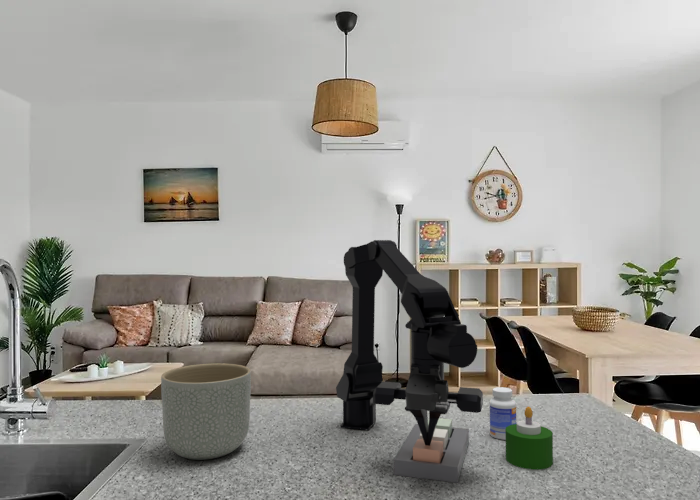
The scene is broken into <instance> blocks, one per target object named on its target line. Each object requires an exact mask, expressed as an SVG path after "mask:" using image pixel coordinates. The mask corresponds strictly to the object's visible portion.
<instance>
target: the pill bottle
mask: <svg viewBox="0 0 700 500" xmlns="http://www.w3.org/2000/svg"><path fill="white" fill-rule="evenodd" d="M512 397H513V390H512V389H511V387H502V386H498V387H497V386H496V387H494V388H492V397H491V398H490V400H489V434H490V436H491V437H492V438H495V439H497V440H502V441H503V440H505V441H506V433H505V429H506V427H507V426H509V425H513V424H517V402H516V400H514V399H512Z"/></svg>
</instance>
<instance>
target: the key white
mask: <svg viewBox="0 0 700 500" xmlns="http://www.w3.org/2000/svg"><path fill="white" fill-rule="evenodd" d="M420 439H423V437H422V434H420ZM432 440H433V441H443V449H444V450H445V449H446V446H447V443H448V430H446V429H435V432H434V435H433V438H432Z"/></svg>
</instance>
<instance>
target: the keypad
mask: <svg viewBox="0 0 700 500" xmlns="http://www.w3.org/2000/svg"><path fill="white" fill-rule="evenodd" d="M420 434H421V431H420V428H419V426H418V423H415V424H414V425H413V427H412V428H411V430H410V431H409V433H408V434H407V436H406V438H405V440H404V441H403V443H402V444H401V446H400V448H399V450H398V452H397V453H396V455H395V457H394V458H393V463H392V464H393V466H392V467H393V476H394V475H395V476H401V477H402V476H403V477H409V478H418V479H424V480H433V481H442V482H449V483H456V484H457V483H459V479H460V475H461V473H462V472H461V471H462V467H463V464H464V460H465V457H466V454H467V450H468V447H469V446H468V445H469V443H470V429H469V428H464V427H455V426H454V427H453V426H452V433H451V436H450V438H449V437H448V443H447V446H446V449H445V450H444V449H443V457H442V459H441V462H440V463H433V462H425V461H416V460H413V447H414V445H415V443H416V441H417V439H420Z"/></svg>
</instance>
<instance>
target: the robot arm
mask: <svg viewBox="0 0 700 500" xmlns="http://www.w3.org/2000/svg"><path fill="white" fill-rule="evenodd" d="M343 265H344V267H345V268H344V270H345V276H346V278H347V279H348V281H349V283H350V285H351V287H352V298H351V299H352V301H351V302H352V304H351V306H352V309H351V315H352V316H351V317H352V318H351V352H350V354H349V356H348V357H347V359H346V360H345V362H344V364H343V372H342V373H343V374H342V376H341V378H340V379H339V381H338V383H337V385H336V388H335V390H336V397H337V398H338V399H340V400H341V401H342V423H340V428H343V429H345V428H346V429H353V430H363V431H364V430H366V431H369V430H370V429H371V428H372V427H373V426H374V424H375V423H376V422H377V405H381V406H390V405H391V404H392V403H393V402H394V401H395V400H403V401H404V400H405V406H404V410H405V411H406V412H410V413H411V414H412V416H413V417H414V419H415V421H416V424H418V426H419V428H420V431H421V434H422V437H423V440H424V443H425V445H428V446H430V444H431V441H432V438H433V435H434V432H435V429H436V425H437V422H438V420H439V418H440V417H441V415H447V414H448V412H449V409H450V407H451V404H454V405H456V407H457V409H459V410H460V411H461V412H465V413H475V414H478V413H482V408H483V404H484V395H483V393H484V392H483V390H482V389H480V387H479V388H478V387H465V386H463V387H462V386H460V387H459V389H458V391H457V392H454V391H449V383H448V380H447V379H445V364H447V365H450V366H453V367H456V368H459V369H460V368H461V369H462V368H463V369H464V368H468V367H469V366H470V365H472V363H474V361H475V359H476V357H477V353H478V345H477V342H476V339H475V338H474V336H473V335H472V334H470V333H468V327H467V326H468V325H467V324H461V322H462V321H461V320H460V317H459V316H460V315H459V313H458V311H457V310H456V308H455V306H454V304H453V302H452V299H451V296H450V293H449V291H448V290H447V288H445V286H443V285H442V284H441V283H439V282H438V281H436V280H435V279H433V278H430V277H426V276H424V275H423V274H421V273H420V272H419V271H418V270H417V268H416V267H415V266H414V265H413V264H412V263H411V262H410V260H409V259H408V258H407V257H406V256H405V254H403V253H402V252H401V250H400V249H399V248H398V247H397V243H396V242H395V241H393V240H391V239H377V240H376V239H375V240H373V241H370V242H368V243H365V244H363V245H359V246H351V247H349V248H348V250H347V251H346V252H345V253H344V255H343ZM384 273H385V274H386V275H387V277H388V278H389V279H390V280H391V281H392V283H393V284H394V285H395V286H396V288H397V289H398V290H399V292H400V294H401V295H400V297H401V298H400V303H401V305H402V307H403V308H404V311H405V313H406V314H407V315H408V317H409V318H410V319H409V321H407V323H406V324H405V328H406V329H409V330H410V348H411V349H410V357H411V359H410V360H411V362H410V363H411V365H410V372H409V373H410V374H409V377H408V380H407V383H406V388H402V384H401V382H392V381H384V379H383V367H384V366H383V363H382V362H380V361H379V360H378V358H377V357H376V355H375V305H376V304H375V303H376V302H375V300H376V297H375V296H376V295H375V294H376V287H377V285H378V284H379V283H380V280H381V279H382V277H383V274H384ZM428 412H429V413H428ZM428 414H429V415H428ZM428 416H429V417H428ZM428 419H429V426H428Z"/></svg>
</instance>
